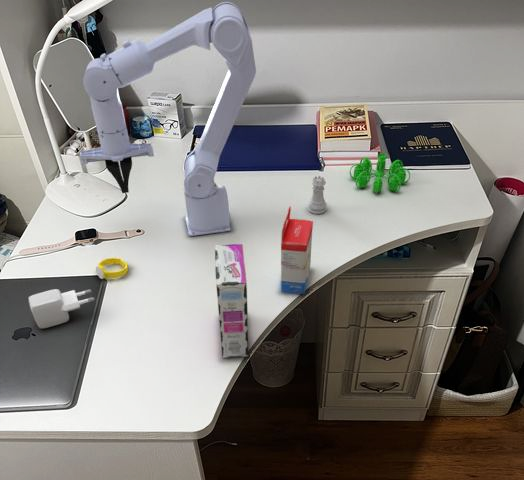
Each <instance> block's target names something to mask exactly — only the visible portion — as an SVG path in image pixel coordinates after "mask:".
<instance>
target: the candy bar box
mask: <svg viewBox="0 0 524 480" xmlns="http://www.w3.org/2000/svg"><path fill="white" fill-rule="evenodd" d="M214 267H215V268H214V270H215V287H216V297H217V310H218V321H219V332H220V333H219V334H220V344H221V345H220V346H221V358H222V359H235V358H236V359H237V358H249V355H250V352H249V351H250V349H249V348H250V346H249V345H250V344H249V343H250V342H249V312H248V310H249V308H248V307H249V306H248V284H247V283H248V282H247V275H246V274H247V273H246V264H245V255H244V246H243V244H242V243H233V244H231V243H230V244H218V245H217V244H216V245H214Z"/></svg>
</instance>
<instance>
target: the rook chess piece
mask: <svg viewBox="0 0 524 480" xmlns="http://www.w3.org/2000/svg"><path fill="white" fill-rule="evenodd" d="M326 183H327V182H326V181H325V177H324V176H321V175H318V176H316V175H315V176H314V177H313V179H312V181H311V185H312V189H311V190H312V193H311V194H312V195H311V198H310V200H309V201H308V204H307V210H308V211H309V212H310V213H311V214H313V215H322V214H324V213H325V212H326V210H327V202H326V200H325V197H324V190H325V185H326Z"/></svg>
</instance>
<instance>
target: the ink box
mask: <svg viewBox="0 0 524 480" xmlns="http://www.w3.org/2000/svg"><path fill="white" fill-rule="evenodd" d="M291 209H292V207H291V205H289V207H288V210H287V213H286V216H285V219H284V221H283V225H282V228H281V239H280V292H281V293H285V294H286V293H288V294H296V295H305V294H306V290H307V287H308V286H307V285H308V281H309V276H310V273H311V260H312V244H313V243H312V242H313V226H314V221H313V220H308V219H297V218H291V212H292V211H291Z"/></svg>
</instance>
